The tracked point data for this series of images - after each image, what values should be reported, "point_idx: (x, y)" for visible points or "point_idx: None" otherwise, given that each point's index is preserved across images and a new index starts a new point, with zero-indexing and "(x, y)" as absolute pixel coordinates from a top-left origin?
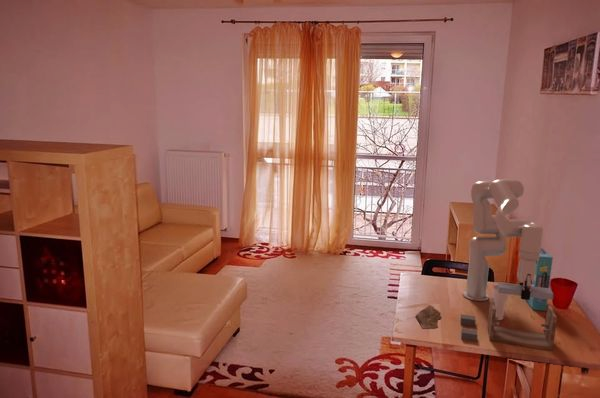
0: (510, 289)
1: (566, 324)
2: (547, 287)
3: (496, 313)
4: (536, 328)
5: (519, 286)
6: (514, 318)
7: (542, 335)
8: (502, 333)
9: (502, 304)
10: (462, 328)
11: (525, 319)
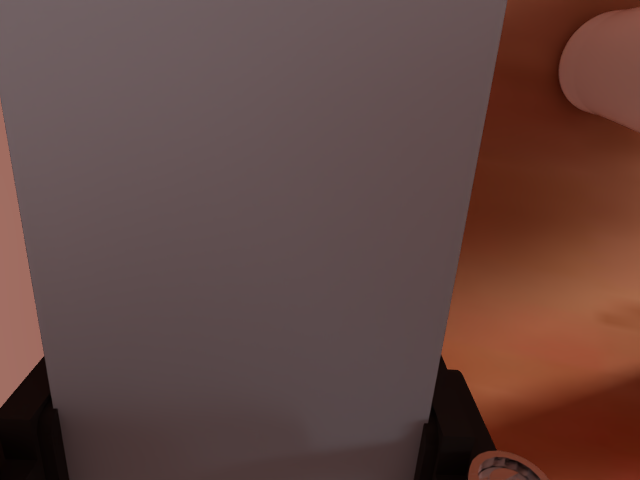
0: (20, 132)
1: (551, 465)
2: None
3: (591, 48)
4: (470, 307)
5: (296, 396)
6: (608, 200)
7: None
8: None
9: (634, 102)
10: None
11: (598, 269)
